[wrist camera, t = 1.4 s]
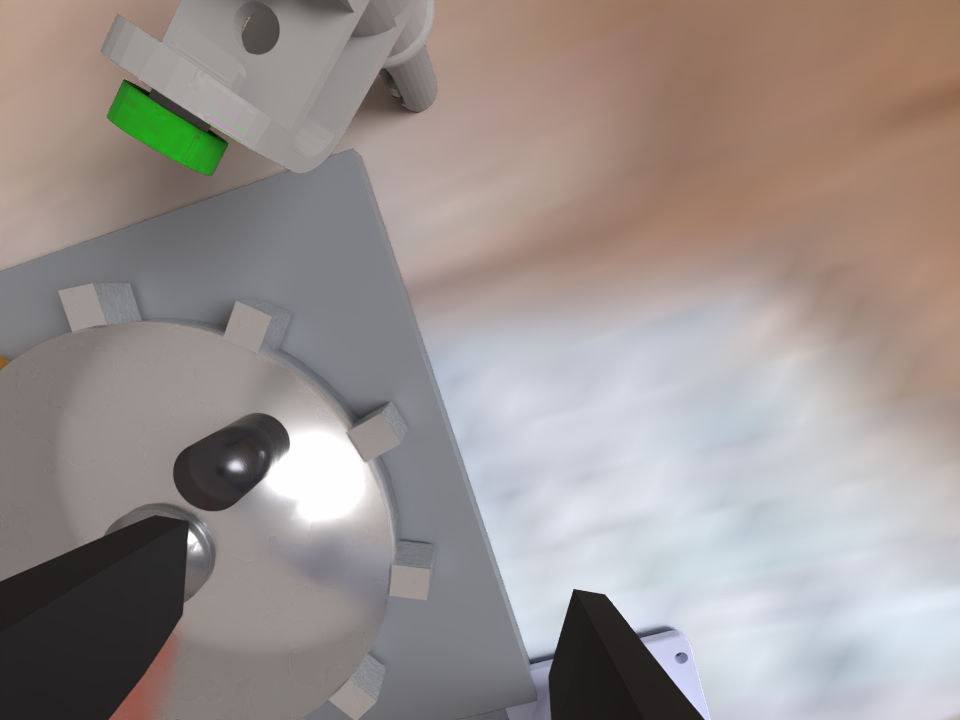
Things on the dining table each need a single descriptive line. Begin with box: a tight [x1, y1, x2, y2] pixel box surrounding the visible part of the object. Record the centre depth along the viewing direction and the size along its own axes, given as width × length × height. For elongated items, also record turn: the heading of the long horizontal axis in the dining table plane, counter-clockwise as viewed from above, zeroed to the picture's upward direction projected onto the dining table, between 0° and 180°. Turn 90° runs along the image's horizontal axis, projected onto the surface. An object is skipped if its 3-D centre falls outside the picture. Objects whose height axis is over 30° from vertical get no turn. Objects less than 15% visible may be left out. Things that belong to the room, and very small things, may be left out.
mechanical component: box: [101, 0, 437, 176], centre depth 11 cm, size 3×10×10 cm, turn 147°
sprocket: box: [0, 283, 436, 720], centre depth 16 cm, size 18×19×4 cm
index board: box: [0, 148, 538, 720], centre depth 18 cm, size 22×24×2 cm
